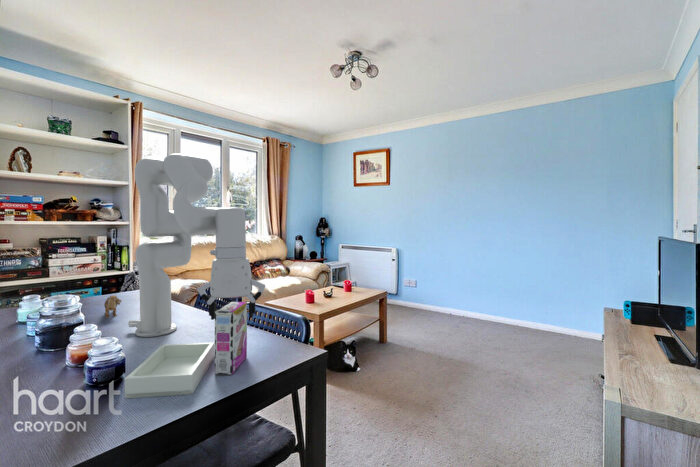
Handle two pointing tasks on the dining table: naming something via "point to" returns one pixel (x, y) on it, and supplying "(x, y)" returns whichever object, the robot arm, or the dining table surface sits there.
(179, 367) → the tray
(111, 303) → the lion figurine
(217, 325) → the candy bar box
